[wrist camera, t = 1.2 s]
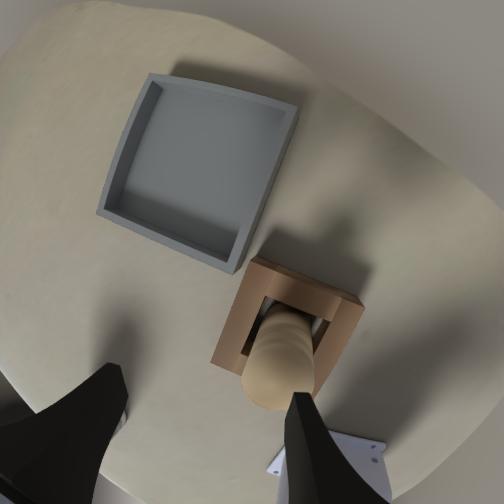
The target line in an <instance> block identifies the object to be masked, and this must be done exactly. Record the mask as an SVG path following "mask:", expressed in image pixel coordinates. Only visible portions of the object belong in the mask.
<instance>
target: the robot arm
mask: <svg viewBox="0 0 504 504" xmlns="http://www.w3.org/2000/svg"><path fill="white" fill-rule="evenodd" d="M127 399H128V393H127V389H126V386H125V382H124V379H123V375H122V371H121V367H120V365H116V364H112V363H106V364H105V365H104V366H103V367H101V368H100V369H99V370H98V371H96V372H95V373H94V374H93V375H92V376H90V377H89V378H88V379H87V380H85V381H84V382H83V383H82V384H80V385H79V386H78V387H77V388H75V389H74V390H73V391H71V392H70V393H69V394H67V395H66V396H64V397H63V398H62V399H60V400H59V401H57V402H56V403H54V404H53V405H51V406H49V407H48V408H46V409H44V410H42V411H41V412H39V413H37V414H35V415H32V416H30V417H28V418H26V419H24V420H21V421H19V422H16V423H13V424H10V425H7V426H4V427H0V504H91V503H92V498H93V493H94V488H95V484H96V480H97V476H98V472H99V469H100V465H101V462H102V459H103V456H104V454H105V451H106V449H107V447H108V445H109V443H110V441H111V438H112V436H113V434H114V432H115V430H116V428H117V426H118V424H119V421H120V419H121V417H122V415H123V412H124V409H125V406H126V402H127ZM284 443H285V445H284V447H283V448H282V449H281V451H280V452H279V453H278V455H277V456H276V457H275V458H274V460H273V461H272V462H271V464H270V465H269V466H268V467H267V472H268V473H271V474H275V475H278V476H280V480H279V487H278V494H277V501H276V504H391V502H392V491H391V486H390V482H389V478H388V474H387V470H386V466H385V462H384V459H383V455H382V452H383V451H384V450H385V449H386V444H385V443H383V442H377V441H372V440H367V439H363V438H358V437H354V436H349V435H345V434H341V433H337V432H333V431H329V430H328V429H327V428H326V426H325V424H324V422H323V420H322V418H321V416H320V414H319V412H318V410H317V408H316V406H315V403H314V401H313V399H312V396H311V394H310V393H309V392H294V393H293V396H292V399H291V403H290V406H289V409H288V412H287V415H286V418H285V432H284ZM373 445H374V446H373Z"/></svg>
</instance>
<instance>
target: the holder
mask: <svg viewBox="0 0 504 504" xmlns="http://www.w3.org/2000/svg"><path fill="white" fill-rule="evenodd" d="M265 296H268V297H270V298H273V299H275V300H277V301H280V302H282V303H285V304H287V305H290V306H292V307H295V308H297V309H300V310H302V311H305V312H307V313H310V314H312V315H315V316H317V317H320V318H322V319H323V320H322V322H321V324H320V326H319V328H318V330H317V332H316V334H315V336H314V338H313V340H312V348H313V362H314V378H315V384H314V389H313V392H312V394H311V396H312V399H313V400H314V398H315V397H316V395H317V393H318V392H319V390H320V389H321V387H322V385H323V384H324V382H325V380H326V379H327V377H328V375H329V374H330V372H331V370H332V369H333V367H334V365H335V363H336V362H337V360H338V358H339V356H340V355H341V353H342V351H343V349H344V347H345V346H346V344H347V342H348V340H349V338H350V336H351V334H352V333H353V331H354V329H355V327H356V325H357V323H358V321H359V319H360V317H361V315H362V313H363V311H364V309H365V307H364V305H363V304H362V302H361V301H360V300H359V298H358V297H356V296H354V295H351V294H349V293H346V292H344V291H341V290H339V289H337V288H334V287H332V286H329V285H327V284H324V283H322V282H319V281H317V280H315V279H312V278H310V277H307V276H305V275H302V274H300V273H297V272H295V271H293V270H290V269H288V268H285V267H283V266H280V265H278V264H276V263H273V262H271V261H268V260H266V259H263V258H261V257H258V256H255V257H254V258H252V259H251V260H250V262H249V265H248V267H247V270H246V272H245V275H244V277H243V280H242V282H241V285H240V288H239V290H238V293H237V295H236V298H235V300H234V303H233V305H232V308H231V311H230V313H229V316H228V318H227V321H226V323H225V326H224V328H223V331H222V334H221V336H220V339H219V341H218V344H217V346H216V349H215V351H214V354H213V357H212V359H211V362H210V363H213V364H215V365H217V366H219V367H222V368H224V369H226V370H229V371H231V372H233V373H236V374H238V375H240V376H242V373H243V370H244V368H245V365H246V363H247V360H248V357H249V355H250V352H251V350H252V347H253V344H254V342H252V341H249V340H247V337H248V335H249V333H250V330H251V328H252V326H253V323H254V321H255V319H256V316H257V314H258V312H259V309H260V307H261V305H262V302H263V300H264V297H265Z"/></svg>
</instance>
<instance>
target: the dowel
mask: <svg viewBox="0 0 504 504" xmlns="http://www.w3.org/2000/svg"><path fill="white" fill-rule="evenodd" d="M241 382H242V387H243V390H244V392H245V394H246V395H247V397H248V398H249V399H250V400H251V401H252V402H254V403H255V404H256V405H258V406H260V407H262V408H265V409H269V410H275V411H283V410H288V409H289V406H290V403H291V399H292V396H293V393H294V392H309V393H310V394H312V392H313V389H314V384H315V378H314V362H313V348H312V336H311V324H310V319H309V316H308V314H307V313H306V312H305V311H302V310H300V309H297V308H295V307H292V306H290V305H287V304H285V303H279V304H276V305H274V306H272V307H271V308H270V309H269V310H268V311H267V312H266V313H265V315H264V317H263V320H262V323H261V325H260V328H259V331H258V334H257V336H256V339H255V342H254V344H253V347H252V350H251V352H250V355H249V357H248V360H247V363H246V365H245V368H244V370H243V373H242V378H241Z"/></svg>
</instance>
